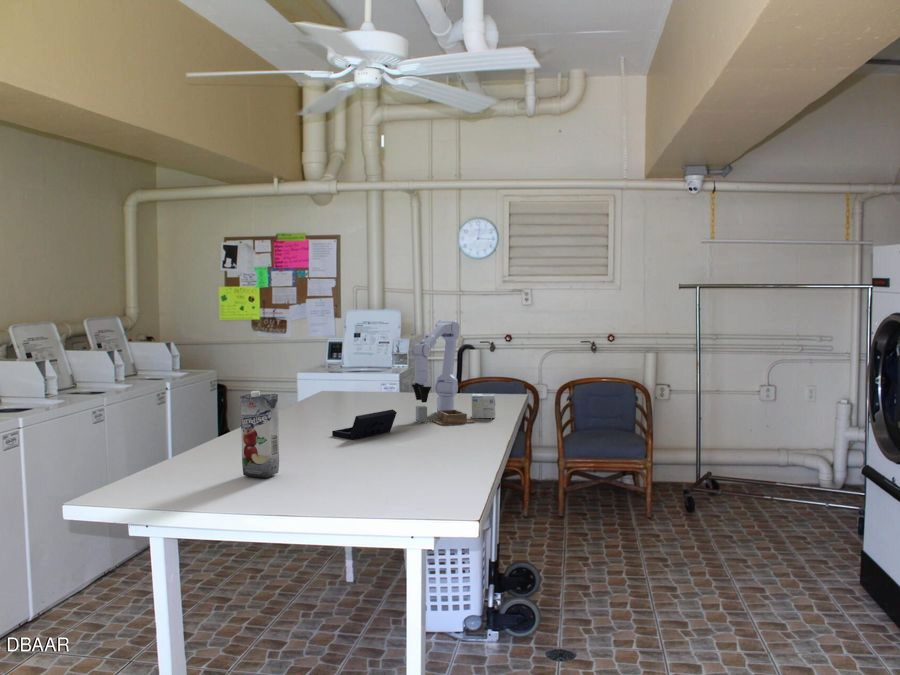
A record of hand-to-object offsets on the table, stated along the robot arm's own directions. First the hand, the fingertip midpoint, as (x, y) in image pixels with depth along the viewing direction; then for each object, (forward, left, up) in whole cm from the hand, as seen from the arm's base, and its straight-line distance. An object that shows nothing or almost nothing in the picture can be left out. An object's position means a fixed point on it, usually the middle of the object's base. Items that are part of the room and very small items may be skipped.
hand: (421, 401), depth 327 cm
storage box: (+19, -30, -10) cm, 37 cm away
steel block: (0, 0, -10) cm, 10 cm away
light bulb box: (0, +30, -10) cm, 31 cm away
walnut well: (+4, +13, -9) cm, 16 cm away
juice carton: (+71, -77, -10) cm, 105 cm away
